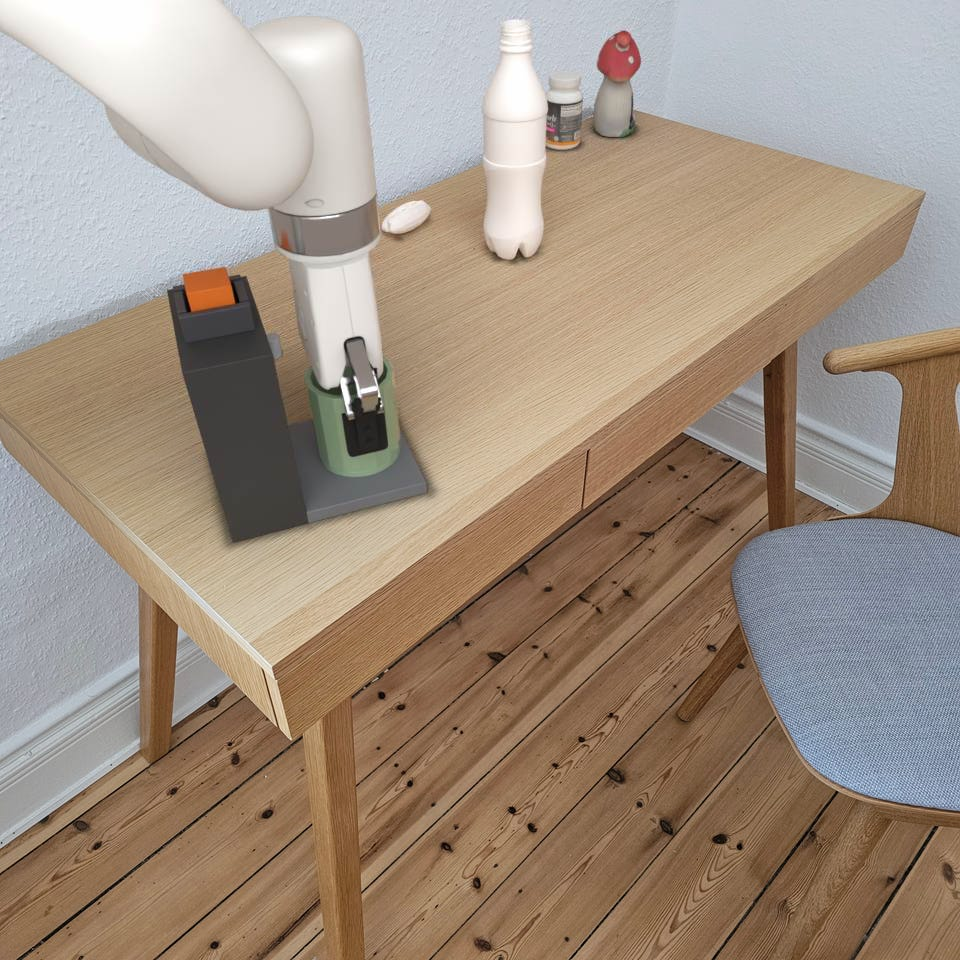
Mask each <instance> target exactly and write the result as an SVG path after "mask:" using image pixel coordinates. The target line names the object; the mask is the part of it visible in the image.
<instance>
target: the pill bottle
mask: <svg viewBox="0 0 960 960" xmlns="http://www.w3.org/2000/svg"><path fill="white" fill-rule="evenodd" d="M581 84H582V75H581V73H580V72H578V71H574V70H567V69H566V70H565V69H564V70H554V71H552V72H550V73H549V74H548V86H549V89H548V90H546V92H545V94H546V98H547V103H548V112H547V119H546V146H545V147H547V148H549V149H552V150H559V151H565V150H571V149H575V148H576V147H578V146H579V145H580V144H581V135H582V119H583V105H584V94H583V92H582V90H581V89H579V87H580V86H581Z"/></svg>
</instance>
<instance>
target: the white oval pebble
mask: <svg viewBox="0 0 960 960" xmlns="http://www.w3.org/2000/svg"><path fill="white" fill-rule="evenodd" d="M431 210H432V208H431V206H430V205H429V204H428V203H427V202H425V201H424V200H423V199H419V200H412V201H408V202H405V203H402V204H401V205H398V206H397V207H395V208H394V209H393V210H391V212H389V213H388V214H387V215H386V216H385V218H384V219H383V220H382V223H381V229H382V231H383V232H385V233H390V234H395V235H400V234H404V233H407V232H410V231H413V230H414V229H416V228H418V227H419V226H421V225H422V224H423V223H424V222H425V221H426V220H427V219H428V217H429V215H430V213H431Z"/></svg>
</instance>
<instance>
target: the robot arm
mask: <svg viewBox="0 0 960 960" xmlns="http://www.w3.org/2000/svg"><path fill="white" fill-rule="evenodd" d="M0 32H1V33H2V34H4V35H5V36H8V37H9V38H11V39H13V40H15V41H16V42H17V43H19V44H21V45H22V46H24V47H25V48H27V49H29V50H30V51H31V52H33V53H35V55H38V56H39V57H41V58H42V59H43V60H45V61H46V62H48V63H49V64H51V65H52V66H54V67H55V68H56V69H57V70H59V71H60V72H62V73H63V74H64V75H66V76H67V77H68V78H70V79H71V80H72V81H73V82H75V83H76V84H78V85H79V86H80V87H81V88H82V89H84V90H86V91H87V92H88V93H89V94H91V95H92V96H93V97H94V98H95V99H97V100H98V101H99V102H101V103H102V104H103V105H104V110H105V113H106V116H107V119H108V121H109V124H110V125H111V127H112V129H113V130H114V132H115V133H116V134H117V135H116V136H118V138H120V140H121V142H123V143H124V144H125V145H126V146H127V147H128V148H129V149H130V150H131V151H132V152H134V153H135V154H136V155H137V156H139V157H140V158H142V159H143V160H145V161H146V162H148V163H149V164H151V165H152V166H155V167H156V168H158V169H160V170H161V171H163V172H165V173H166V174H168V175H170V176H172V177H173V178H175V179H177V180H180V181H181V182H182V183H185V185H188V186H189V187H191V188H192V189H194V190H196V191H197V192H199V193H200V194H202V195H204V196H205V197H207V198H208V199H210V200H211V201H213V202H215V203H216V204H219V205H222V206H224V207H226V208H230V209H234V210H239V211H244V212H250V211H251V212H255V211H263V210H267V213H268V218H269V223H270V229H271V234H272V239H273V245H274V248H275V250H276V252H277V253H278V254H279V255H281V256H282V257H284V258H286V259H288V266H289V273H290V281H291V287H292V292H293V300H294V308H295V314H296V325H297V329H298V333H299V338H300V340H301V344H302V346H303V349H304V351H305V354H306V356H307V359H308V362H309V364H310V365H311V367H312V369H313V372H314V374H315V376H316V379H317V381H318V383H319V385H321V386H322V387H323V388H325V389H327V390H328V389H330V388H333V387H338V386H339V389H340V393H341V397H342V401H343V405H344V409H345V413H342V420H343V427H344V433H345V440H346V446H347V451H348V454H349V456H350V457H356V456H360V455H364V454H369V453H373V452H377V451H381V450H385V449H387V447H388V438H387V429H386V420H385V411H384V407H383V403H382V399H381V395H380V391H379V387H378V383H377V379H378V378H379V377H380V376H381V375H382V373H383V356H384V355H383V354H384V352H383V344H382V333H381V325H380V319H379V317H380V316H379V310H378V303H377V302H378V301H377V296H376V288H375V278H374V275H373V269H372V261H371V256H370V252H371V251H373V250H374V249H375V248H376V247H378V245H379V244H380V242H381V239H382V231H381V229H382V227H381V219H380V210H379V200H378V191H377V181H376V169H375V158H374V149H373V139H372V138H373V137H372V128H371V119H370V109H369V99H368V89H367V88H368V85H367V76H366V66H365V59H364V52H363V45H362V43H361V40H360V37H359V36H358V34H357V32H356V31H355V30H354V28H352V27H351V26H350V25H349V24H347V23H346V22H345V21H342V20H339V19H335V18H332V17H327V16H321V15H295V16H294V15H293V16H283V17H278V18H273V19H269V20H266V21H264V22H261V23H259V24H256V25H254V26H252V27H250V28H249V29H248V28H247V27H246V25H244V23H243V22H242V21H241V20H240V19H239V18H238V17H237V15H235V13H234V12H233V10H231V9H230V8H229V7H228V6H227V5H226V3H225V2H224V1H223V0H0ZM347 368H351V370H352V373H353V375H351V376H346V377H343V372H344V369H347ZM354 384H356V387H357V395H358V398H354V400H353V402H352V401H351V397H350V393H349V389H348V386H349V385H354Z"/></svg>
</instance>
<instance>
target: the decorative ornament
mask: <svg viewBox="0 0 960 960" xmlns="http://www.w3.org/2000/svg"><path fill="white" fill-rule="evenodd" d="M641 64H642V57H641V53H640V49H639V47H638V44H637V43H636V41H635V39H634V38H633V37H632V34H631V33H630V32H629V31H627V30H625V29H624V30H620V31H618V32H616V33H614V34H612V35H611V36H610V37H608V39H606V41H605V42H604V43H603V45H602V47H601V49H600V51H599V52H598V56H597V59H596V69H597V70H598V71H599V72H600V73H601V74H602V75H603V79H602V81H601V83H600V86H599V88H598V91H597V94H596V97H595V100H594V105H593V114H592V119H593V127H594V130H595V132H596V133H597V134H598V135H600V136H602V137H608V138H624V137H627V136H629V135H631V134H633V133H634V131H635V128H636V127H635V126H636V119H637V117H636V114H635V112H634V94H633V93H634V92H633V91H634V90H633V87H632V84H631V83H632V82H631V79H632V78H633V77H634V75H635V74H636V73H637V72H638V71H639V69H640V68H641Z"/></svg>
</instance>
